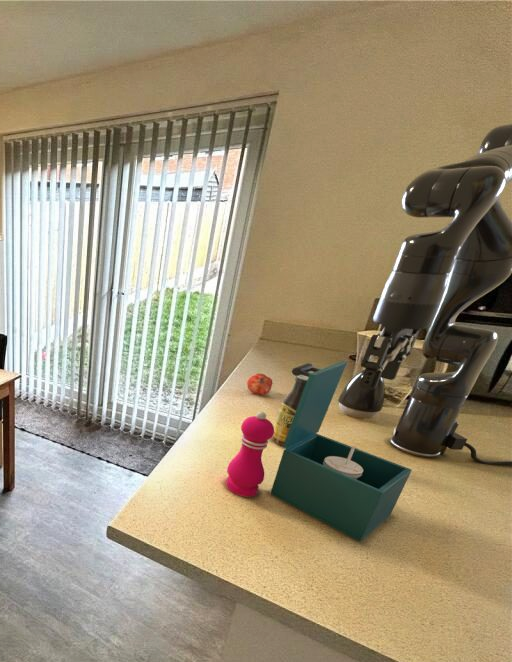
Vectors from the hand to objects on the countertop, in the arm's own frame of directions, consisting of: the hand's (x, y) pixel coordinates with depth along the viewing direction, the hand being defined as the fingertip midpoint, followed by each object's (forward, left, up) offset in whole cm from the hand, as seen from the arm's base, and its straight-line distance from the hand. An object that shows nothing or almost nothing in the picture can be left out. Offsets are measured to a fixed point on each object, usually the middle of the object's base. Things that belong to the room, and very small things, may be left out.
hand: (377, 383), depth 74 cm
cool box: (+1, +1, -29) cm, 29 cm away
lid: (+6, -5, -8) cm, 11 cm away
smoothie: (+1, +1, -28) cm, 28 cm away
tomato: (-11, -59, -29) cm, 67 cm away
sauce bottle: (-3, -25, -29) cm, 38 cm away
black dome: (-33, -44, -29) cm, 62 cm away
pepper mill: (+17, -3, -29) cm, 34 cm away
